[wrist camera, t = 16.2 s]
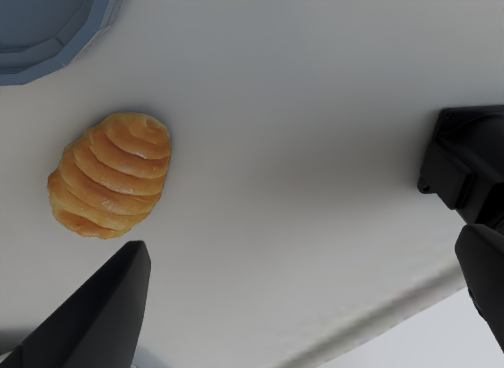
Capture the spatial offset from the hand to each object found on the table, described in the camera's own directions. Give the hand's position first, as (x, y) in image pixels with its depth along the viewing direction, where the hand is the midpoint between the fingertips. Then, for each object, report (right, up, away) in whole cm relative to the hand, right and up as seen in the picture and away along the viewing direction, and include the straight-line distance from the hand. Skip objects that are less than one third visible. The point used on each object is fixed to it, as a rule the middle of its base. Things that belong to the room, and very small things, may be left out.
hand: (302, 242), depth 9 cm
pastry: (-11, +3, +14) cm, 18 cm away
